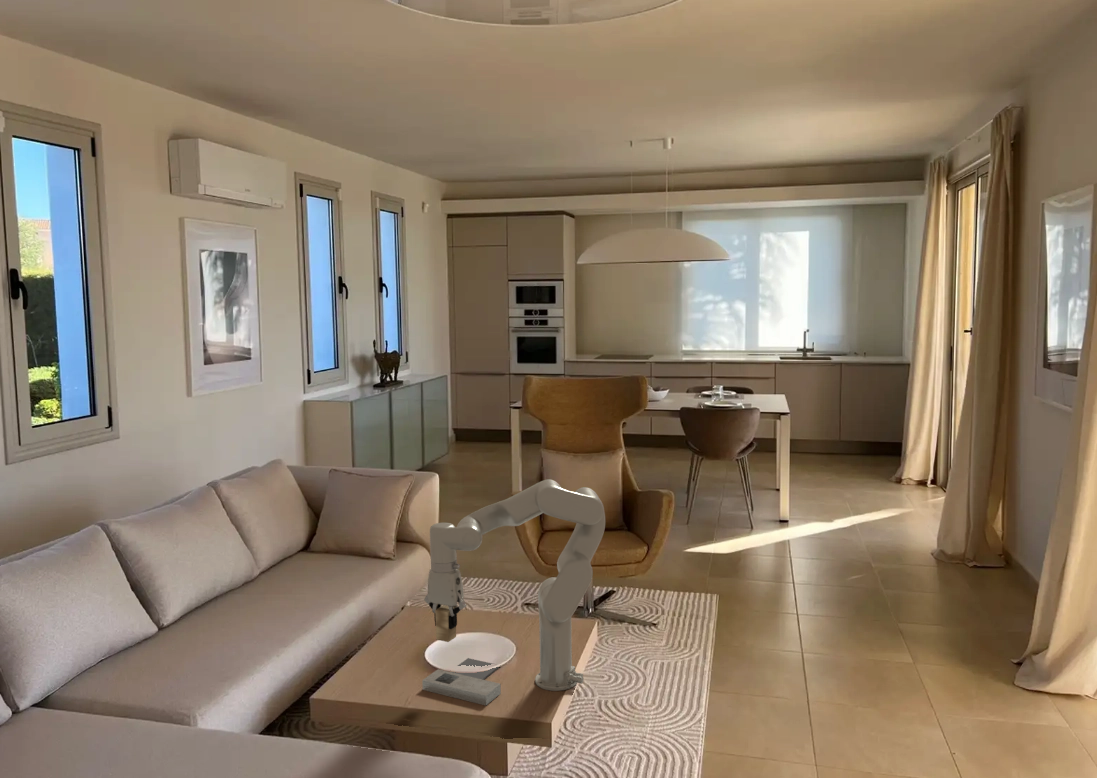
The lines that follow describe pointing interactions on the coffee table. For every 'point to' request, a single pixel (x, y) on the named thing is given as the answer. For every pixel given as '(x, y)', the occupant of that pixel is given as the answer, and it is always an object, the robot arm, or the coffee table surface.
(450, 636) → the birch peg
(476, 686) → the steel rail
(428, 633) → the coffee table surface
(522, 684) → the coffee table surface
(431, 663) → the coffee table surface
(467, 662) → the charcoal mat
